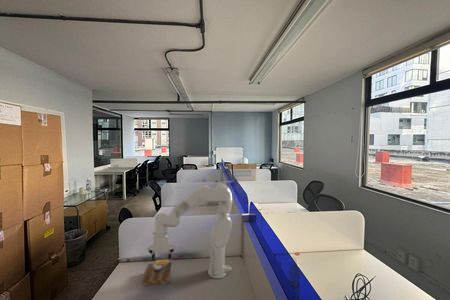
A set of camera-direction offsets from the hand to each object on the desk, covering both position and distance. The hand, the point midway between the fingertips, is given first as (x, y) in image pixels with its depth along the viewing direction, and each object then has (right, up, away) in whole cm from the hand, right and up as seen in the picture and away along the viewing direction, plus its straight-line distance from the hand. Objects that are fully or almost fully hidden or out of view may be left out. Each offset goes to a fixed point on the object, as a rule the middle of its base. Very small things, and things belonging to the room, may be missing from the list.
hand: (161, 259), depth 134 cm
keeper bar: (+1, -3, 0) cm, 3 cm away
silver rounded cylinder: (-2, -12, +1) cm, 12 cm away
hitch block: (-2, -12, +1) cm, 12 cm away
